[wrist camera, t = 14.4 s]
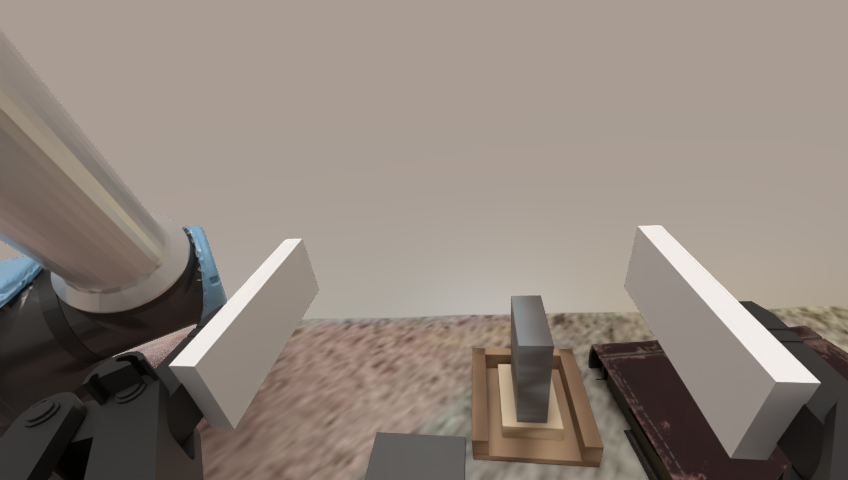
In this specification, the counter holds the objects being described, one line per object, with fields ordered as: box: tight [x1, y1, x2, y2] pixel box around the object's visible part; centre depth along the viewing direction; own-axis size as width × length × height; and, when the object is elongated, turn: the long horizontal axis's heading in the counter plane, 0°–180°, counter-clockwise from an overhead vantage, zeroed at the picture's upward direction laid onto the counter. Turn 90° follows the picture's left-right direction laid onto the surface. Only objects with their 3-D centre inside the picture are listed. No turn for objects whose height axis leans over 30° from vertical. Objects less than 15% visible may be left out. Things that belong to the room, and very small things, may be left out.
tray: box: [472, 348, 604, 467], centre depth 39 cm, size 12×12×3 cm
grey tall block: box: [498, 296, 564, 441], centre depth 36 cm, size 6×8×13 cm
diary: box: [589, 326, 848, 480], centre depth 35 cm, size 19×25×5 cm
